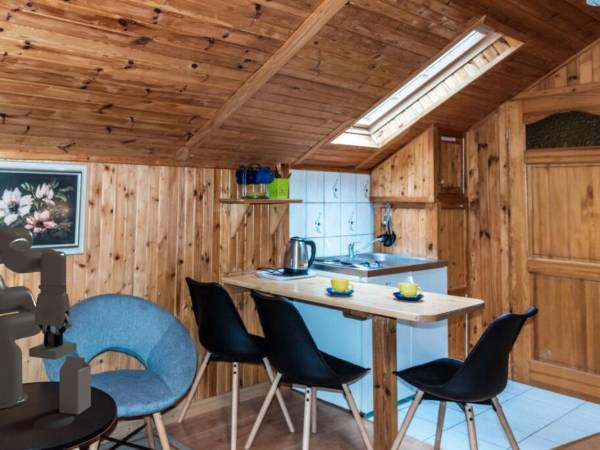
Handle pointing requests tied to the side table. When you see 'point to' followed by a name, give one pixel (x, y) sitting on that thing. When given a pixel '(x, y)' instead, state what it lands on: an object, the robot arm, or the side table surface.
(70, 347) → the square plate with knob
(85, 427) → the side table surface
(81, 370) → the milk carton
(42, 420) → the mat
